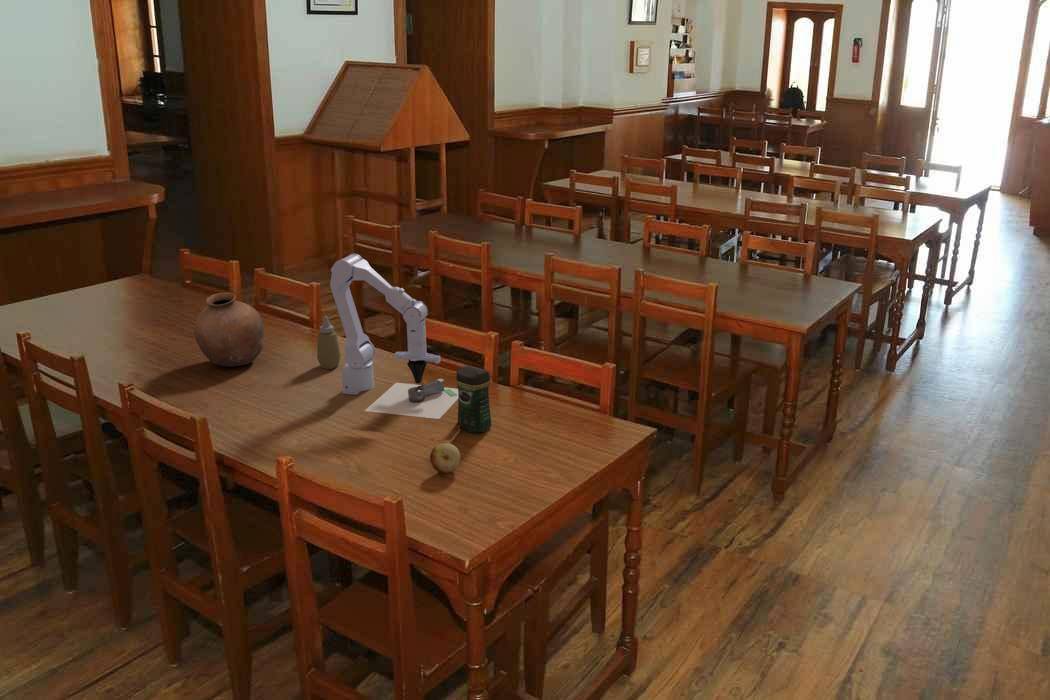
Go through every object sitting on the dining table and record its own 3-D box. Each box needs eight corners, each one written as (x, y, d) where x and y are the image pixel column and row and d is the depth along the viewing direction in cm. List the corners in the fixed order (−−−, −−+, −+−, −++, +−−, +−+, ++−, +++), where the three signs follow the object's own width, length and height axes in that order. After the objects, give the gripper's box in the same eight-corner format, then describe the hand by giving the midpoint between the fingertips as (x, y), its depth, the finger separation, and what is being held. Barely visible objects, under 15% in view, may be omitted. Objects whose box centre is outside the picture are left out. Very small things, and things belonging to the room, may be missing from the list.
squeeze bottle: (313, 368, 325) (308, 318, 319) (326, 361, 332) (322, 312, 326) (333, 371, 322) (329, 321, 316) (346, 364, 329) (342, 314, 323)
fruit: (426, 476, 248) (424, 448, 246) (439, 463, 256) (438, 436, 253) (452, 481, 246) (451, 452, 243) (465, 467, 253) (464, 440, 251)
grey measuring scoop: (414, 403, 291) (413, 391, 289) (405, 398, 294) (404, 386, 293) (447, 393, 298) (447, 381, 297) (438, 388, 302) (437, 377, 301)
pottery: (264, 349, 345) (257, 282, 336) (269, 370, 324) (261, 300, 316) (198, 356, 338) (189, 289, 330) (199, 379, 317) (189, 307, 309)
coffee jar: (496, 427, 278) (494, 367, 271) (477, 436, 272) (475, 375, 266) (471, 419, 283) (469, 360, 277) (453, 427, 278) (450, 368, 272)
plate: (364, 415, 287) (364, 410, 286) (396, 386, 309) (396, 382, 308) (439, 423, 281) (439, 418, 280) (466, 394, 302) (466, 389, 302)
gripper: (389, 343, 292) (392, 384, 297) (434, 347, 289) (435, 389, 293) (399, 336, 299) (401, 376, 303) (442, 340, 295) (443, 381, 300)
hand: (418, 382), depth 299 cm, fingers closed
